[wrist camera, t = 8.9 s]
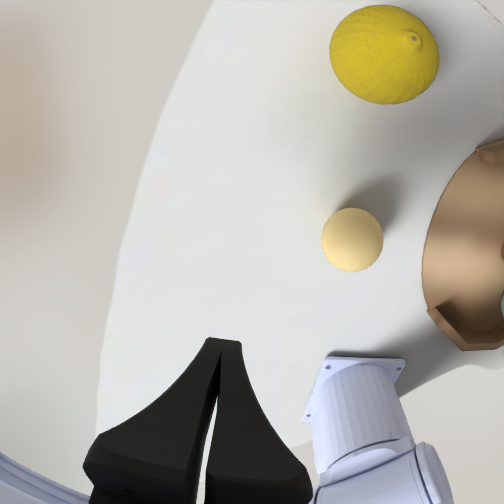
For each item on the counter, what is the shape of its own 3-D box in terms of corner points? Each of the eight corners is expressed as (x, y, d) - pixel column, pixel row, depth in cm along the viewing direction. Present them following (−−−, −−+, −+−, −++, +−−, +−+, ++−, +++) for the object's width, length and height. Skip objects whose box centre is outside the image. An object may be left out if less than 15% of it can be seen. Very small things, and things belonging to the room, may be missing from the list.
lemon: (402, 42, 15) (466, 13, 8) (393, 116, 18) (461, 118, 10) (323, 20, 15) (355, -32, 8) (313, 96, 17) (344, 79, 10)
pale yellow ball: (383, 237, 21) (378, 287, 19) (329, 232, 22) (318, 279, 20) (386, 197, 18) (383, 250, 16) (323, 192, 19) (311, 242, 17)
